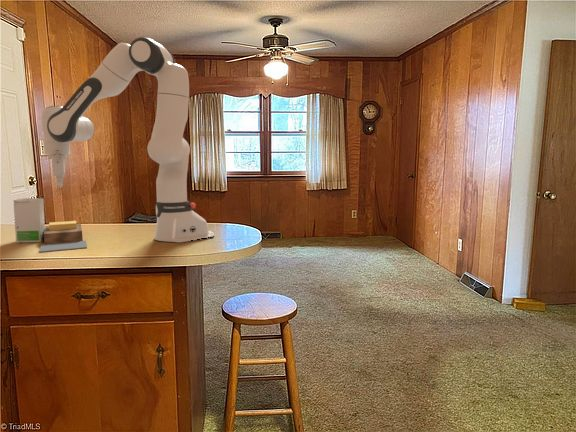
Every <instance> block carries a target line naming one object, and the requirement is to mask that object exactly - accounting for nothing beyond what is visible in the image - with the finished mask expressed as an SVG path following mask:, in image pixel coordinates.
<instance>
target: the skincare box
mask: <svg viewBox="0 0 576 432" xmlns="http://www.w3.org/2000/svg"><path fill="white" fill-rule="evenodd" d="M44 202H45V201H44V198H39V197H36V198H35V197H34V198H33V197H30V198H29V197H28V198H27V197H20V198H15V199H13V213H14V216H13V217H14V229H15V230H14V231H15V243H20V242H21V243H41V242H43V241H44V231H45V228H46V225H45V222H46V221H45V207H44V206H45V203H44Z"/></svg>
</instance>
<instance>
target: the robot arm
mask: <svg viewBox="0 0 576 432" xmlns="http://www.w3.org/2000/svg"><path fill="white" fill-rule="evenodd" d="M142 71H144V72H145V73H147V74H148V75H152V76H154V77H156V80H157V96H156V111H155V113H156V114H155V121H154V123H153V129H152V131H151V137H150V139H149V141H148V143H147V147H146V149H147V154H148V156H149V157H150V159H151V160H153V162H156V163H157V164H158V165H159V167H158V173H157V176H156V179H155V185H156V186H155V188H156V192H155V193H156V201H155V216H156V226H155V233H154V236H153V237H154V238H153V239H154V240H155V241H158V242H172V243H184V242H185V243H186V242H192V241H191V240H193V241H198V240H197V239H200V240H202V239H201V238H207V239H209V238H208V237H213V236H214V237H215V233H214V232H213V231H212V230H209V226H208V222H207V220H206V219H205V218H204V217H203V216H201V215H199V213H197V212H195V211H194V210H193V209H196V206H197V204H196V203H195V202H191V201H189V200H188V190H187V189H188V188H187V185H188V183H187V179H188V171H189V159H190V154H191V147H190V144H189V143H188V141H187V140H186V139H185V138H184V133H185V132H184V131H185V128H186V124H187V121H188V118H189V103H190V81H189V72H188V71H187V69H186V68H185V67H184V66H182V64H178V63H176V61H175V58H174V55H173V54H172V52H170V50H169V49H167V48H166V47H164V46H163V45H162V44H161V43H159V42H157V41H155V40H154V39H152V38H150V37H144V36H141V37H137V38H135V39H134V40H132V41H131V42H130V43H127V42H119V43H117V44H116V45H115V46H113V48H112V49H111V50H110V51H109V52H108V54H107V55H106V56H105V57H104V59H103V60H102V62H100V64H99V66H98V67H96V69H95V71H94V72H93V73H92V74H91V76H89V77H88V78H87V79H86V80H85V81H84V82H83V83H82V84H81V85H80V86H79V87H78V88H77V89H76V90H75V92H74V93H73V94H72V95H71V96H70V97H69V99H68V100H67V101H66V103H65V104H64V105H63V106H62V105H52V106H47V107H45V108H43V110H42V113H41V129H42V133H43V142H42V143H43V152H44V155H47V156H48V160H51V164H52V174H53V176H54V177H56V178H55V179H56V184H57V185H56V186H57V187H58V188H63V187H64V181H63V180H64V176H65V172H66V160H68V158H69V157H68V155H69V156H70V155H71V154H72V152H71V142H80V143H81V142H86V141H89V140H91V139H92V138H93V137H94V134H95V126H94V123H93V121H92V120H91V119H90V118H88V117H87V116H84V114H85V113H86V112H87V110H89V108H91V106H92V105H93V104H94V103H96V102H97V101H99V100H102V99H107V98H111V97H116V96H119V95H120V94H121V93H123V92H124V90H126V89H127V87H128V86H129V84H130V83H131V81H132V80H133V79H134V77H135V76H136V74H138V73H139V72H142ZM214 237H213V238H214Z"/></svg>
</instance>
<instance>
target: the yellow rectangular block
mask: <svg viewBox="0 0 576 432" xmlns="http://www.w3.org/2000/svg"><path fill="white" fill-rule="evenodd" d="M77 222H78V221H77V220H70V221H69V220H68V221H53V222H49V223H48V226H49V231H50V230H63V229H77V224H78V223H77Z"/></svg>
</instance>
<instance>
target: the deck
mask: <svg viewBox="0 0 576 432" xmlns="http://www.w3.org/2000/svg"><path fill="white" fill-rule="evenodd" d="M83 238H84V237H83V229H82V224H81V223H77V229H63V230H50V231H49V225H48V226H47V225H45V231H44V240H43V241H44V244H53V243H64V242H76V241H84V240H83Z"/></svg>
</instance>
